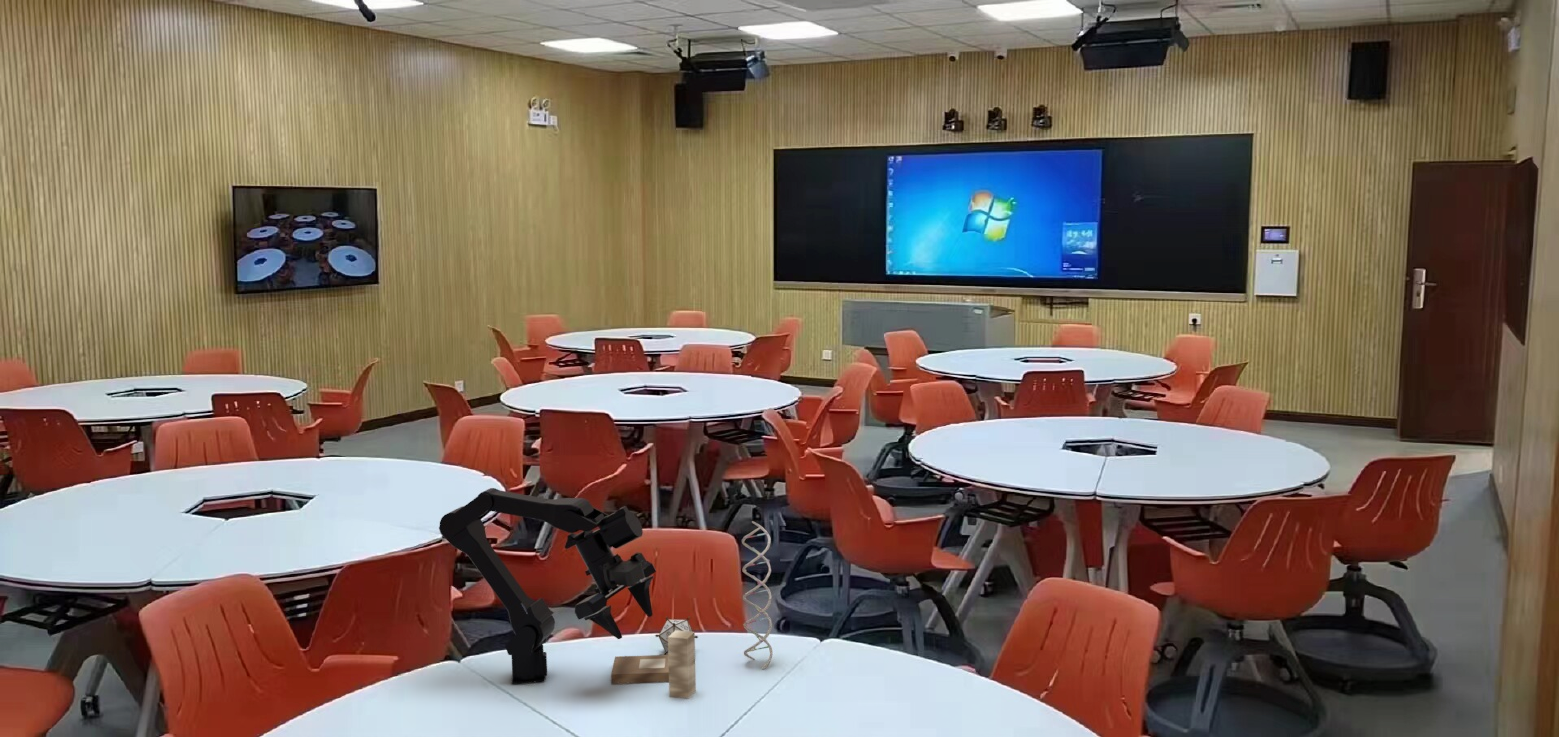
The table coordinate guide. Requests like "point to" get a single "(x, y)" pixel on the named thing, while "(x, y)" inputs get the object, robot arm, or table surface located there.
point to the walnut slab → (640, 669)
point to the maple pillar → (681, 664)
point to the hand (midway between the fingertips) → (635, 627)
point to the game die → (672, 630)
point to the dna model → (761, 583)
